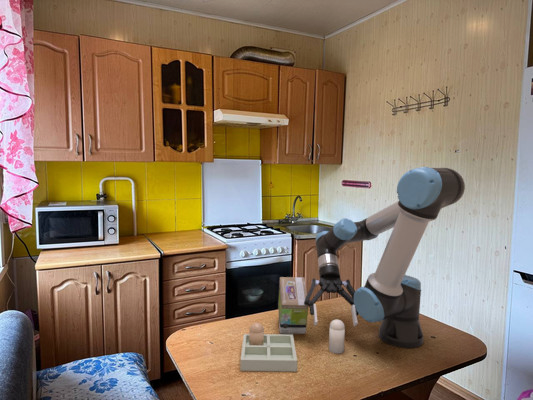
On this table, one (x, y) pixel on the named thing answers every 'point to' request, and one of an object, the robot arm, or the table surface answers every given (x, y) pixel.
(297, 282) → the tea box
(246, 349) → the carton
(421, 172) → the robot arm
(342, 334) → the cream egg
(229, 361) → the table surface
